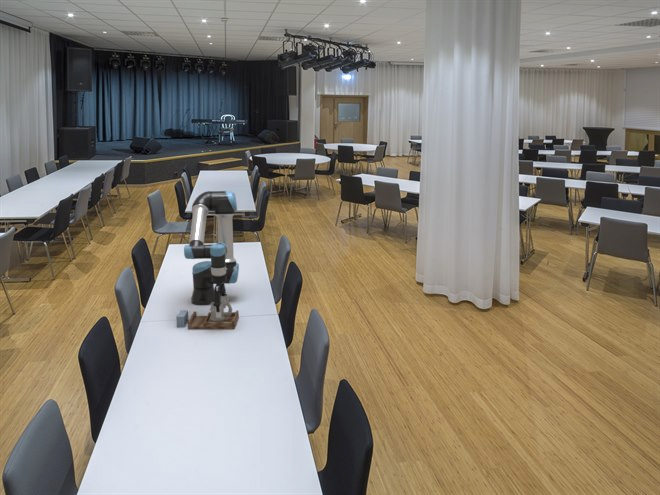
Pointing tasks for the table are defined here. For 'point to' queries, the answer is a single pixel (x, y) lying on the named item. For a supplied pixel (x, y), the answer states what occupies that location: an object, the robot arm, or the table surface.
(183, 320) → the blue-grey rectangular block
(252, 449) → the table surface
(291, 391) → the table surface
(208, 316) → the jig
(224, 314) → the mug
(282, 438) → the table surface
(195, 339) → the table surface
